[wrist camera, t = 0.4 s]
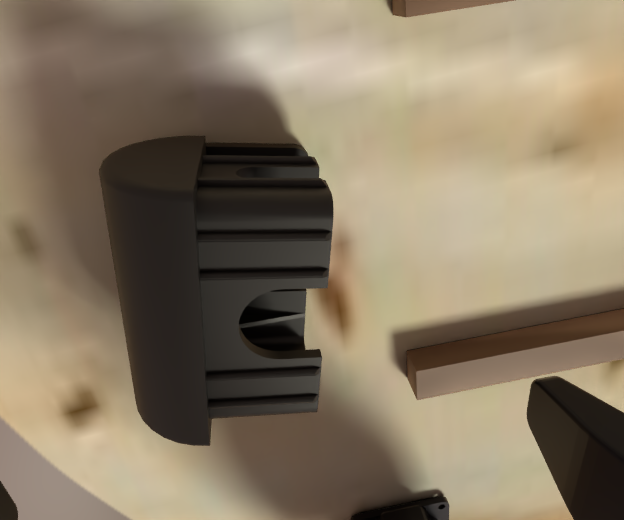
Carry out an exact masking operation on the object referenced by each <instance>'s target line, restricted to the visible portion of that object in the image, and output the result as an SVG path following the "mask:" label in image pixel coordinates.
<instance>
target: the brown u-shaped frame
mask: <svg viewBox="0 0 624 520" xmlns="http://www.w3.org/2000/svg"><path fill="white" fill-rule="evenodd" d="M507 1H514V0H392V8H393V15H396V16H402V17H411V16H417V15H424V14H430V13H436V12H443V11H449V10H456V9H462V8H469V7H475V6H482V5H488V4H494V3H501V2H507ZM620 359H624V309H620V310H614V311H609V312H604V313H599V314H594V315H589V316H584V317H578V318H573V319H568V320H563V321H558V322H553V323H548V324H542V325H537V326H532V327H527V328H522V329H517V330H512V331H506V332H501V333H496V334H491V335H486V336H481V337H476V338H470V339H465V340H460V341H455V342H450V343H445V344H440V345H434V346H429V347H424V348H419V349H414V350H409V351H407V373H408V381H409V383H410V385H411V387H412V390H413V392H414V394H415V396H416V399H417V400H421V399H426V398H430V397H435V396H440V395H445V394H450V393H455V392H460V391H465V390H470V389H475V388H480V387H485V386H490V385H495V384H500V383H505V382H510V381H515V380H520V379H525V378H530V377H535V376H540V375H545V374H550V373H555V372H560V371H565V370H570V369H575V368H580V367H585V366H590V365H595V364H600V363H605V362H610V361H615V360H620Z"/></svg>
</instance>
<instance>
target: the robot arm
mask: <svg viewBox="0 0 624 520" xmlns="http://www.w3.org/2000/svg"><path fill="white" fill-rule="evenodd" d="M527 420H528V424H529V427H530V429H531V431H532V433H533V435H534V438H535V440H536V442H537V444H538V446H539V448H540V450H541V453H542V455H543V457H544V459H545V461H546V463H547V465H548V468H549V470H550V472H551V474H552V476H553V478H554V480H555V483H556V485H557V487H558V489H559V491H560V493H561V496H562V498H563V500H564V502H565V504H566V506H567V508H568V510H569V512H570V513H571V515H572V517H573V519H574V520H624V413H623V412H621V411H620V410H618V409H616V408H614V407H612V406H611V405H609V404H607V403H605V402H604V401H602V400H600V399H598V398H596V397H595V396H593V395H591V394H589V393H588V392H586V391H584V390H582V389H580V388H579V387H577V386H575V385H573V384H572V383H570V382H568V381H566V380H564V379H563V378H560V377H557V376H551V377H545V378H539V379H536V380H534V381H533V382H532V384H531V389H530V395H529V401H528V407H527ZM0 520H18V511H17V507H16V505H15V503H14V501H13V500H12V498H11V497H10V495H9V494H8V492H7V491H6V489H5V488H4V486H3V484H2V483H1V481H0ZM351 520H449V503H448V501H447V499H446V497H443V496H441V497H435V498H431V499H426V500H421V501H417V502H412V503H407V504H402V505H398V506H393V507H388V508H384V509H379V510H374V511H370V512H365V513H360V514H356V515H354V516H352V518H351Z"/></svg>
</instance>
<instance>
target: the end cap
mask: <svg viewBox="0 0 624 520" xmlns="http://www.w3.org/2000/svg"><path fill="white" fill-rule="evenodd" d="M99 175H100V181H101V187H102V193H103V200H104V206H105V212H106V218H107V225H108V231H109V237H110V243H111V249H112V256H113V262H114V268H115V274H116V281H117V287H118V293H119V299H120V306H121V312H122V318H123V324H124V330H125V337H126V343H127V349H128V355H129V362H130V368H131V374H132V380H133V386H134V393H135V399H136V404H137V409H138V412H139V413H140V415H141V417H142V419H143V421H144V422H145V423H146V424H147V425H148V426H149V427H150V428H151V429H152V430H153V431H155V432H156V433H158V434H159V435H161V436H163V437H164V438H167V439H169V440H172V441H175V442H177V443H182V444H188V445H201V446H210V438H211V420H212V419H213V418H228V417H244V416H260V415H276V414H292V413H308V412H317V409H318V397H319V385H320V373H321V361H322V356H321V352H320V349H316V350H305V345H304V323H305V306H306V289H310V288H328V276H329V264H330V251H331V239H332V227H333V199H332V194H331V191H330V189H329V187H328V185H327V183H326V181H325V180H322V179H321V178H319V166H318V163H317V161H316V159H315V158H314V157H310V156H308V154H307V152H306V150H305V149H304V148H303V147H302V146H299V145H295V144H259V143H206V140H205V136H177V137H167V138H158V139H153V140H147V141H143V142H139V143H135V144H131V145H129V146H126V147H123V148H121V149H119V150H117V151H115V152H113V153H111V154H110V155H109V156H108V157H107V158H106V159H104V160H103V162H102V164H101V167H100V169H99Z"/></svg>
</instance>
